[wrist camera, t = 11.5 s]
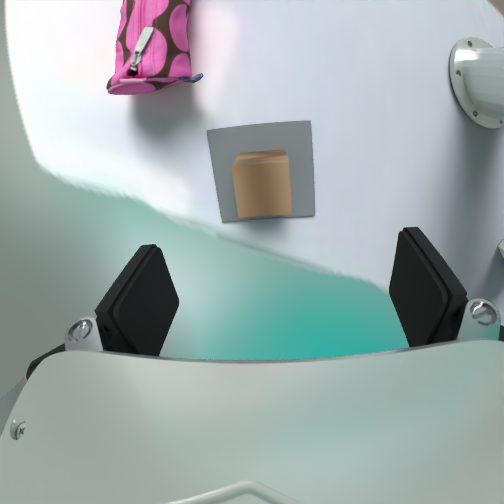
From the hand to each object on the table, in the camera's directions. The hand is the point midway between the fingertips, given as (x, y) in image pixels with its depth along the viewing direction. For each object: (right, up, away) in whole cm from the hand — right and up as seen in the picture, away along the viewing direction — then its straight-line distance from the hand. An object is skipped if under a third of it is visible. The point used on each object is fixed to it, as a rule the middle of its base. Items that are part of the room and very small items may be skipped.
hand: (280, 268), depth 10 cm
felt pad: (0, +9, +19) cm, 22 cm away
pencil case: (-10, +27, +10) cm, 31 cm away
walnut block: (0, +9, +19) cm, 21 cm away
